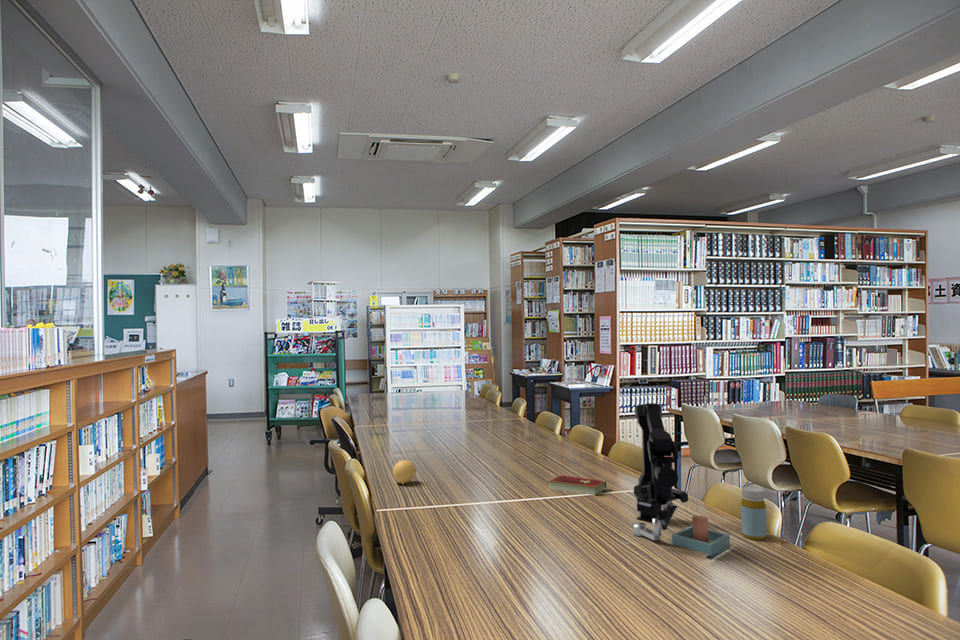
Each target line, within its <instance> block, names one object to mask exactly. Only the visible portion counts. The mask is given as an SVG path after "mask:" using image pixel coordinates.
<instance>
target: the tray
mask: <svg viewBox="0 0 960 640" xmlns="http://www.w3.org/2000/svg"><path fill="white" fill-rule="evenodd" d="M671 540H672V541H671V544H672V545H674V546H677V547H681V548H685V549H690V550H692V551H695V552H699V553H702V554H706V555H707V556H706V559H708V558H709V560H712V558H713V559H714V558H716V557H718V556H720V555H721V554H723V553H724V552H727V551H728V550H730V549H731V542H730V540H731V538H730V534H727V533H723V532H720V531H716V530H713V529H712V530H711V529H708V541H711V542H709V543H706V542H702V541H699V540H695V539H693V527H692V524H691V525H689V526H688V527H685V528H682V529H681V530H679V531H677V532H675V533H673V534H671Z"/></svg>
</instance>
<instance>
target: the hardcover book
mask: <svg viewBox="0 0 960 640" xmlns="http://www.w3.org/2000/svg"><path fill="white" fill-rule="evenodd" d="M547 483H548V487H549V488H552V489H558V490H564V491H563V492H565V491H571V492H570V493H572V492H578V493H585V494H591V495H590V496H592V495H596V494H598V493H599V492H601V491H602V490H603V489H605V488H606V489H607V481H606V480H601V479H600V480H599V479H594V478H593V479H592V478H585V477H578V476H577V477H576V476H569V475H568V476H567V475H563V474H559V475H556V476H555V477H553V478H550V479H549V480H547ZM549 488H548V489H549ZM558 490H557V491H558ZM602 492H603V491H602ZM602 492H601V493H602ZM578 493H577V494H578ZM585 494H584V495H585ZM599 494H600V493H599ZM599 494H598V495H599ZM596 496H597V495H596Z"/></svg>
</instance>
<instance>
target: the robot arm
mask: <svg viewBox="0 0 960 640" xmlns="http://www.w3.org/2000/svg"><path fill="white" fill-rule="evenodd" d="M634 416H635V418H636V422H637V424H638V425H639V427H640V429H641V443H642V445H641V447H642V473H641V474H640V475H639V477H638V484H636V485H634V486H633V494H634V496H635V500H636V502H637V503H636V511H637V512H640V513H639V514H640V515H639V516H637V517H636V520H640V521H643V522H647V523H651V524H652V518H660V519H661V530H662V531H666V530H667V529H668V526H669V524H670V521H671V520H672V518H673V515H674V514H675V511H676V509H678V506H677V505H674V503H673V502H675V501H677V500H680V502H681V503H682V504H685V503H686V502H687V503H688V502H689V495H688V493H687V492H686V491H683V490H680V489H675V488H673V487H675V486H676V485H677V483H678V481H679V475H678V473H677V471H676V470H675V469H674V468H673V463H675V464H676V463H677V464H678V459H679V454H678V448H677V444H676V443H675V441H674V440H673V439H672V435H671V434H670V433H669V432H667V431H666V429H665V427H664V423H663V419H662V417H663V406H662V405H660V404H659V403H656V402H655V403H653V402H652V403H649V402H647V403H644V404H638V405H637V406H635V408H634Z"/></svg>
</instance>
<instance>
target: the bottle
mask: <svg viewBox="0 0 960 640" xmlns="http://www.w3.org/2000/svg"><path fill="white" fill-rule="evenodd" d="M741 491H742V493H741V494H742V496H741V497H742V499H741V501H740V513H741V521H740V522H741V534H742V535H741V536H743V537H744V538H746V539H748V540H752V541H763V540H765V538H767V507H766V502H765V491H764V488H762V487H757V486H747V485H746V486H743V487H741Z"/></svg>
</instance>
